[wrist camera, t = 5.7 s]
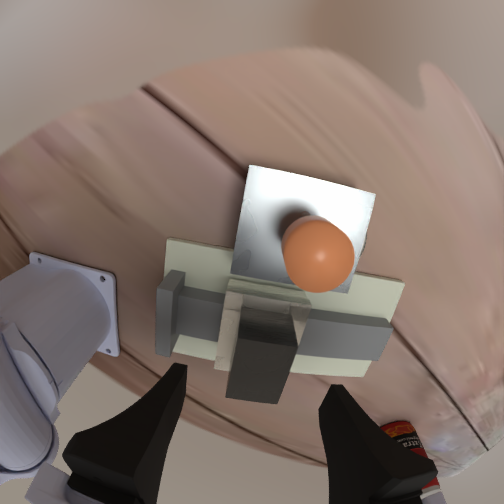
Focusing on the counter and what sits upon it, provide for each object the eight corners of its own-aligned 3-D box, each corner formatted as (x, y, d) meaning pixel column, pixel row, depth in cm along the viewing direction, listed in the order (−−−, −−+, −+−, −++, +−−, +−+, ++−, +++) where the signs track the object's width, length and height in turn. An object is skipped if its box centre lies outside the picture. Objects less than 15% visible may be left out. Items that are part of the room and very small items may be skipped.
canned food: (420, 412, 24) (453, 480, 13) (401, 447, 26) (423, 507, 16) (363, 427, 24) (387, 507, 13) (349, 459, 26) (364, 526, 16)
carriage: (218, 348, 20) (206, 402, 14) (230, 275, 18) (218, 320, 12) (284, 359, 20) (290, 413, 14) (305, 289, 18) (322, 336, 13)
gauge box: (234, 256, 18) (229, 273, 15) (251, 165, 17) (249, 164, 14) (338, 275, 19) (351, 294, 16) (361, 190, 17) (379, 195, 14)
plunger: (275, 268, 13) (278, 286, 11) (288, 209, 12) (294, 217, 10) (332, 278, 13) (343, 297, 11) (347, 222, 12) (362, 232, 10)
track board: (163, 344, 21) (149, 372, 17) (169, 237, 18) (150, 253, 15) (361, 372, 21) (373, 400, 18) (401, 280, 19) (424, 301, 15)
